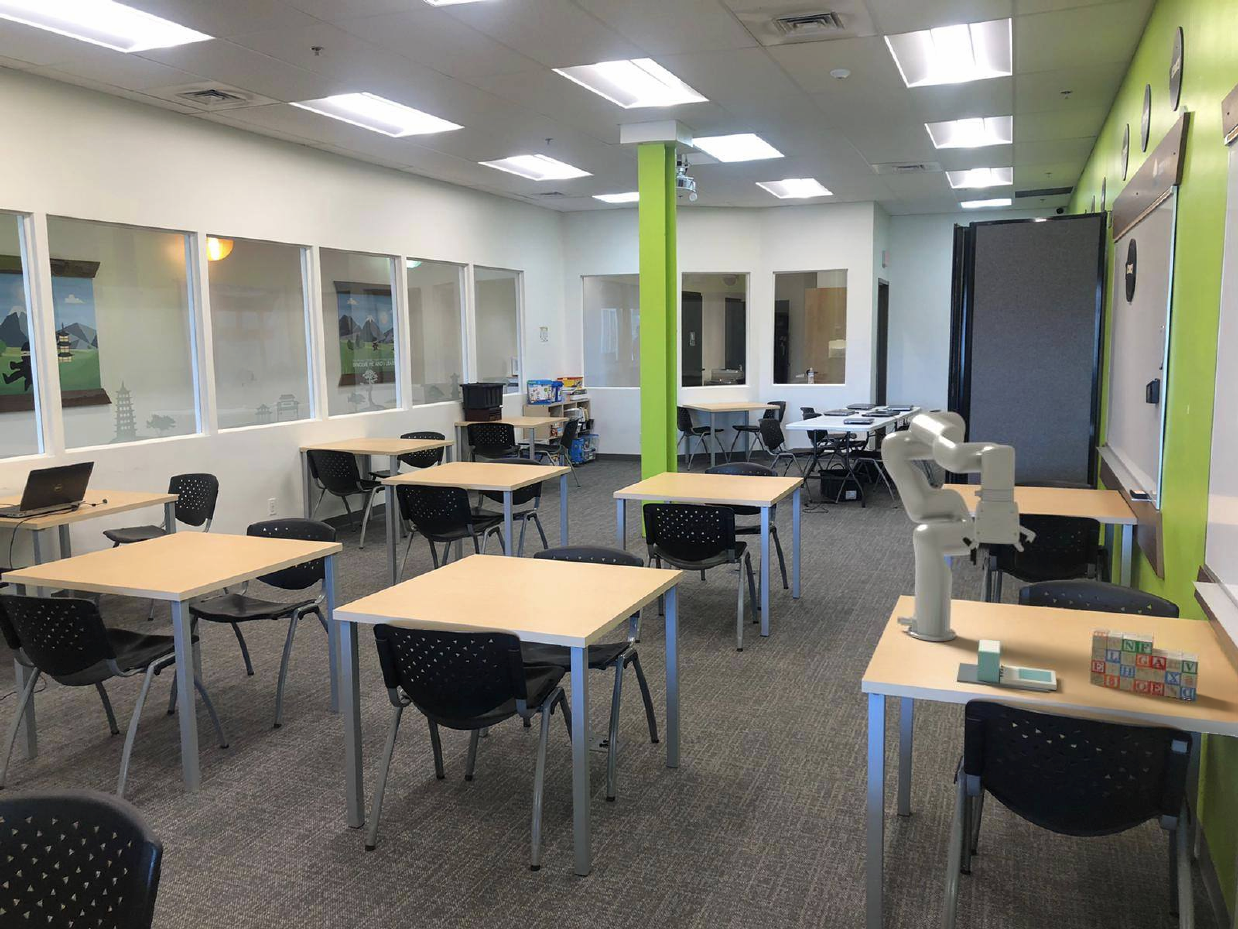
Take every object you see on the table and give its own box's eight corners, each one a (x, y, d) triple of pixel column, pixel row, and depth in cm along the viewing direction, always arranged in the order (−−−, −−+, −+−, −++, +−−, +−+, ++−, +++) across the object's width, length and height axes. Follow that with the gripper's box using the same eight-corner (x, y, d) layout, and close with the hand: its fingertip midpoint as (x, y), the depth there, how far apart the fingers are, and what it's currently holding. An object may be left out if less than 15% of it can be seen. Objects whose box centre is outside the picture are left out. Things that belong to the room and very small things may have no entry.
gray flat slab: (956, 681, 221) (957, 674, 221) (959, 664, 233) (960, 657, 233) (1056, 693, 213) (1056, 686, 213) (1054, 675, 225) (1054, 668, 224)
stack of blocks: (1196, 693, 213) (1200, 641, 211) (1195, 702, 208) (1199, 649, 206) (1092, 676, 224) (1095, 626, 223) (1089, 684, 219) (1092, 633, 218)
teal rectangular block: (976, 679, 221) (978, 650, 220) (978, 666, 230) (979, 638, 229) (998, 682, 219) (1000, 653, 218) (999, 669, 228) (1000, 640, 227)
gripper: (958, 496, 225) (957, 566, 226) (1037, 499, 219) (1035, 570, 220) (959, 493, 232) (958, 560, 233) (1035, 495, 225) (1034, 565, 227)
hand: (995, 565), depth 227 cm, fingers open, 9 cm apart
